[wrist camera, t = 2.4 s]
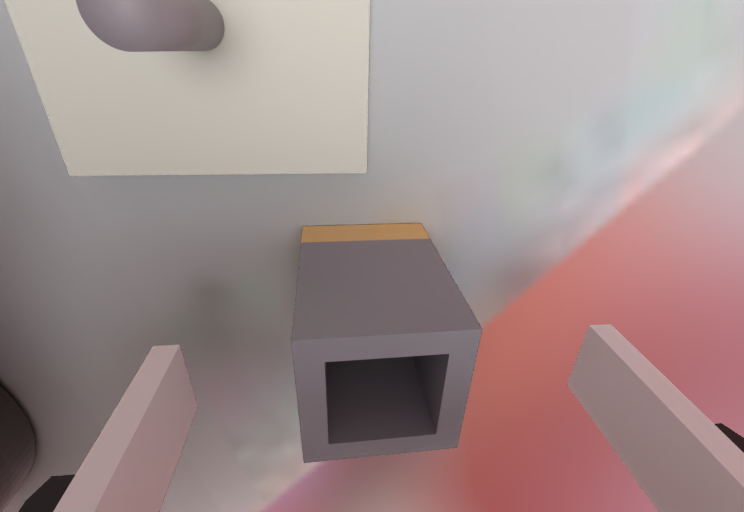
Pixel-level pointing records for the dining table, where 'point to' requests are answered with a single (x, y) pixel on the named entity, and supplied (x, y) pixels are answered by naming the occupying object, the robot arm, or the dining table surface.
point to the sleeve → (379, 343)
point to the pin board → (201, 84)
